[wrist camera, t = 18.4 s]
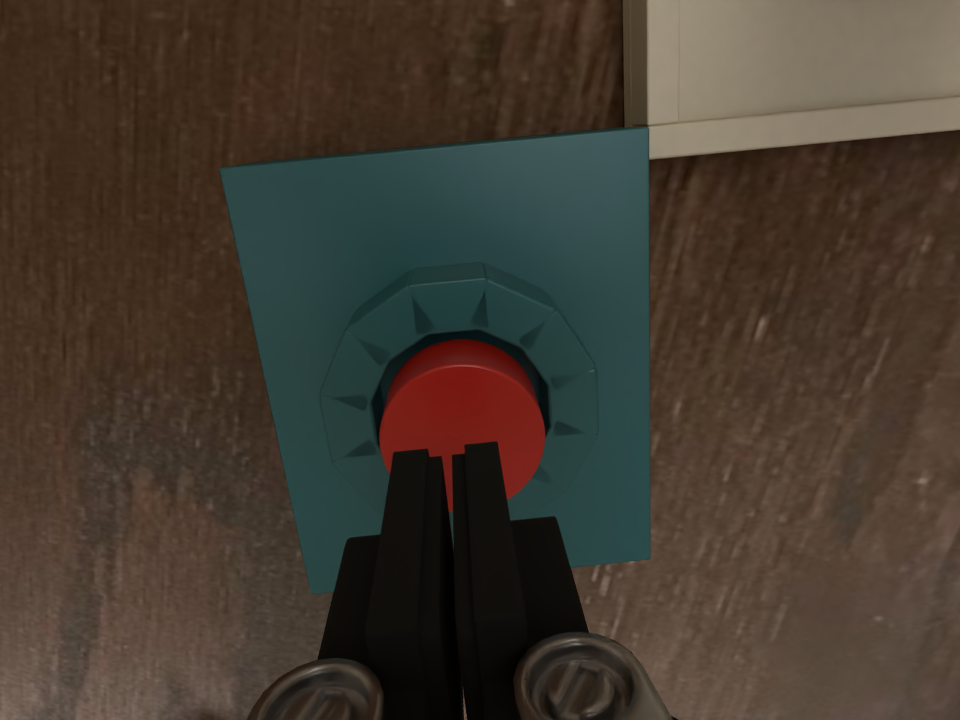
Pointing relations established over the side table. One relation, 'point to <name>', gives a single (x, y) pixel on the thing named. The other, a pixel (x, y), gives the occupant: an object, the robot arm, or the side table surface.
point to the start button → (464, 409)
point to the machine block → (456, 317)
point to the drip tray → (788, 71)
